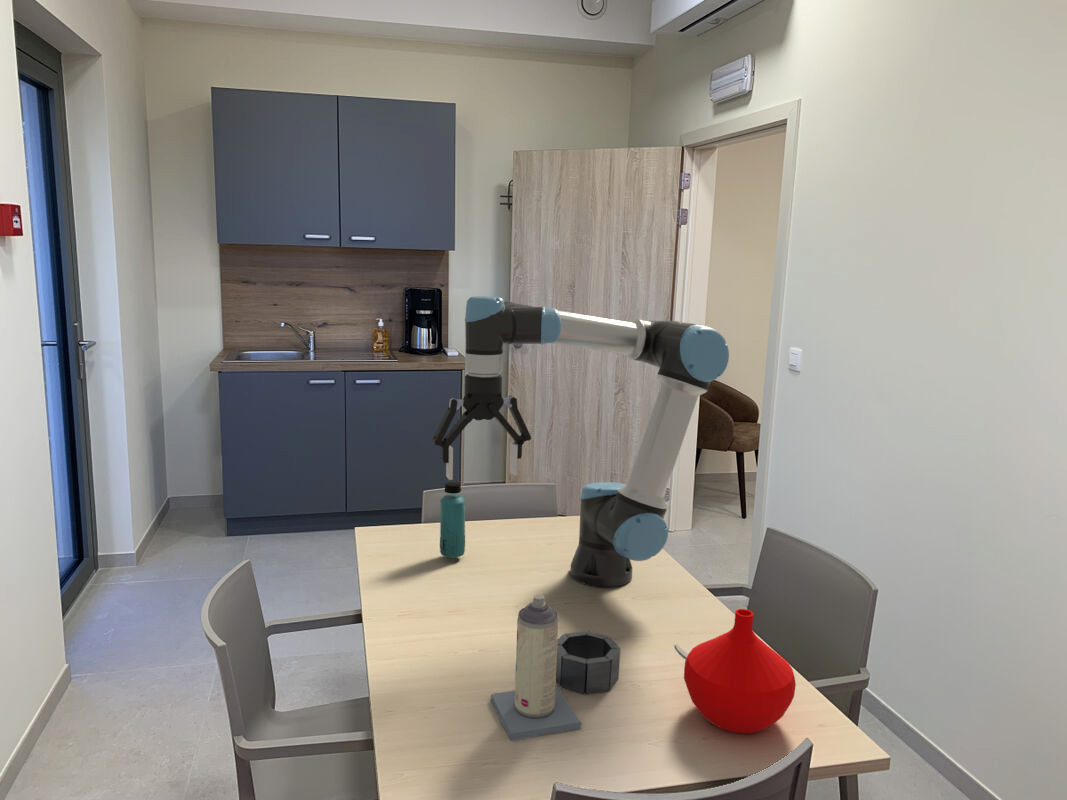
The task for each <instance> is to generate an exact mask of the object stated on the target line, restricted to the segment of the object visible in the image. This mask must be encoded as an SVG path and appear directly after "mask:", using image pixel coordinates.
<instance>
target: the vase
mask: <svg viewBox="0 0 1067 800" xmlns="http://www.w3.org/2000/svg"><path fill="white" fill-rule="evenodd" d="M753 625H754V612H753V611H751V610H749V609H745V608H738V609H736V610H735V615H734V624H733V627H732V628H731V629H730V630H729V631H727V632H724V633H723V634H720V635H719V636H716V637H714V638H712V639H709V640H707V641H704V642H701V643H699V644H697V645H696V646H694V647H693V648H692V649H691V650H690V652H688V656H687V658H685V661H684V667H683V668H684V669H683V670H684V672H683V680H684V683H685V685H686V688H687V691H688V692H687V693H688V694H689V697H690V699H691V702H692V704H693V705H694V706H695V708H696V709H697V710H698V711H699V713H700V714H701V716H703V718H705V719H706V720H707V721H709V722H710V723H711V724H713V725H714V726H715V727H717V728H720V729H721V730H724V731H728V732H730V733H735V734H743V735H745V734H754V733H757V732H761V731H764V730H767V729H768V728H770V727H772V726H773V725H774V724H775V723H776V722H778V721H779V720H780V719H782V718H783V717H784V715H785V714H786V711H787V710H788V709H789V707H790V706H791V703H792V701H793V700H794V697H795V692H796V685H797V683H796V678H795V673H794V670H793V668H792V667H791V665H790V663H789V662H788V661H787V660H786V659H785V658H784V657H783V656H781V655H780V654H779V653H778V652H777V651H775V650H774V649H772V648H771V647H770V646H769V645H767V644H766V643H765V642H764V641H763V640H761V639H760V638H759V637H758V636H757V635H756V634H755V632H754V629H753Z"/></svg>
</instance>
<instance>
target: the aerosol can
mask: <svg viewBox="0 0 1067 800" xmlns="http://www.w3.org/2000/svg"><path fill="white" fill-rule="evenodd" d="M558 616H559V615H558V612H557V611H556V610H555V609H554V608H552V606H550V605H549V604H548V603H547V602H546V601H545V597H544V595H542V594H534V595H533V599H532V601H531V602H530V603H528V604H527V605H525V606H524V608H523V607H522V608H521V609H520V610H519V611H518V616H517V622H516V646H515V647H516V651H515V655H516V656H515V678H514V679H515V683H514V685H515V686H514V691H515V707H514V708H515V710H516V712H517V713H518V714H519V715H521V716H523V717H526V718H530V719H541V718H545V717H548V716H550V715H551V714H552V713H553V712H554V708H555V686H557V682H556V663H557V640H558V639H559V637H558V636H559V635H558V633H559V617H558Z"/></svg>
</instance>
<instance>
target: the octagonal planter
mask: <svg viewBox="0 0 1067 800" xmlns="http://www.w3.org/2000/svg"><path fill="white" fill-rule="evenodd" d="M620 661H621V647H620V646H619V645H618V644H617V643H616V642H615V640H614V639H612V637H610V636H608V635H604V634H600V633H598V632H597V633H596V632H593V631H589V630H582V631H573V632H566V633H564V634H562V635H561V636H559V637H558V640H557V663H556V684H557V686H558V687H560V688H561V689H563V690H568V691H570V692H574V693H577V694H580V695H581V694H582V695H594V694H600V693H605V692H610V691H611V690H612V689H613V687H614V686H615V685H616V683H617V682H618V681H619V677H620Z"/></svg>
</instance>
